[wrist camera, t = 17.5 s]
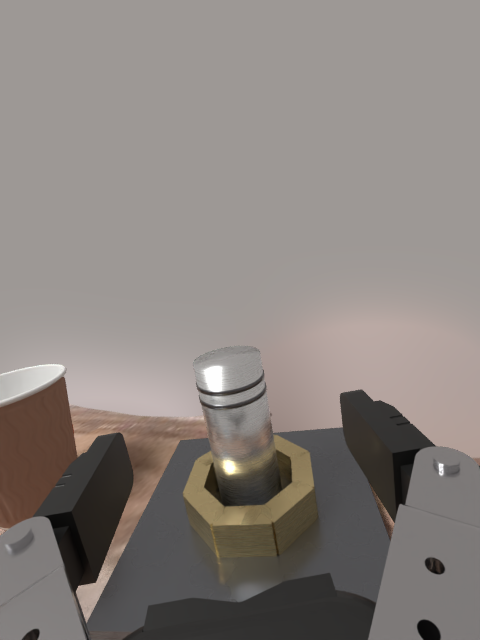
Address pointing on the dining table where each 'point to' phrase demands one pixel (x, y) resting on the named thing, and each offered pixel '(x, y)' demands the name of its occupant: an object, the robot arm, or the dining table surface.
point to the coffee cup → (32, 439)
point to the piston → (238, 425)
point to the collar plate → (247, 533)
